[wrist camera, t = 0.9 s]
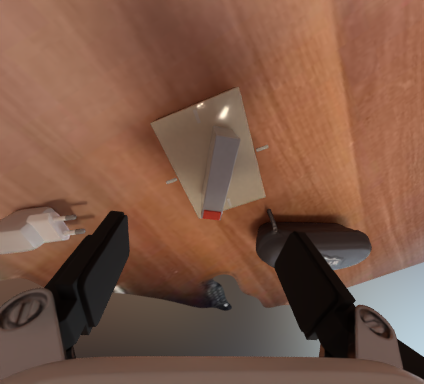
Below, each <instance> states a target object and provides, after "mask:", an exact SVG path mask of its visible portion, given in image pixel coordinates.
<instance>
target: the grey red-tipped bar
mask: <svg viewBox="0 0 424 384" xmlns="http://www.w3.org/2000/svg"><path fill="white" fill-rule="evenodd" d="M240 141H241V139H240V138H239V137H238V136H237V134H236V133H235V132H234V131H233V129H230V128H224V127H219V126H213V128H212V134H211V140H210V146H209V152H208V158H207V164H206V169H205V175H204V181H203V187H202V193H201V218H203V219H213V220H221V216H222V212H223V208H224V204H225V200H226V196H227V192H228V188H229V184H230V180H231V176H232V172H233V168H234V164H235V160H236V156H237V152H238V148H239V145H240Z"/></svg>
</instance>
